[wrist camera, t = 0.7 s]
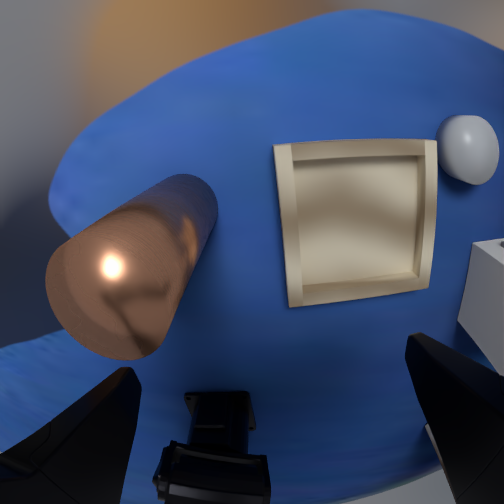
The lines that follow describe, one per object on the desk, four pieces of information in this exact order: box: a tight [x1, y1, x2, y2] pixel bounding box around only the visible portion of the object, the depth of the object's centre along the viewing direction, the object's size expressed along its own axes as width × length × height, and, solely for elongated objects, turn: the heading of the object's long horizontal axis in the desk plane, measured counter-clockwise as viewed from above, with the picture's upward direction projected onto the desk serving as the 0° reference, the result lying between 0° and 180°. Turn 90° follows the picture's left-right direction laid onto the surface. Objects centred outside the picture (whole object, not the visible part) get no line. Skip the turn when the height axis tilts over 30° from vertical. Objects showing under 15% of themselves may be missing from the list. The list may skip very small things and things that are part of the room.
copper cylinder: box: [46, 174, 218, 360], centre depth 15 cm, size 5×5×12 cm
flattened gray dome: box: [435, 115, 499, 185], centre depth 17 cm, size 5×5×2 cm
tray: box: [273, 139, 437, 307], centre depth 20 cm, size 11×11×2 cm
